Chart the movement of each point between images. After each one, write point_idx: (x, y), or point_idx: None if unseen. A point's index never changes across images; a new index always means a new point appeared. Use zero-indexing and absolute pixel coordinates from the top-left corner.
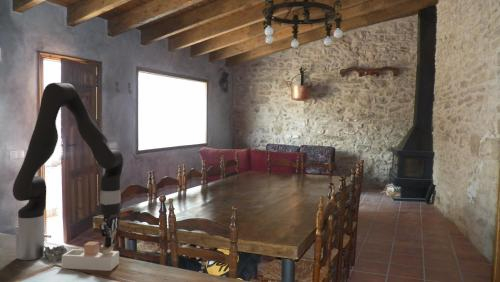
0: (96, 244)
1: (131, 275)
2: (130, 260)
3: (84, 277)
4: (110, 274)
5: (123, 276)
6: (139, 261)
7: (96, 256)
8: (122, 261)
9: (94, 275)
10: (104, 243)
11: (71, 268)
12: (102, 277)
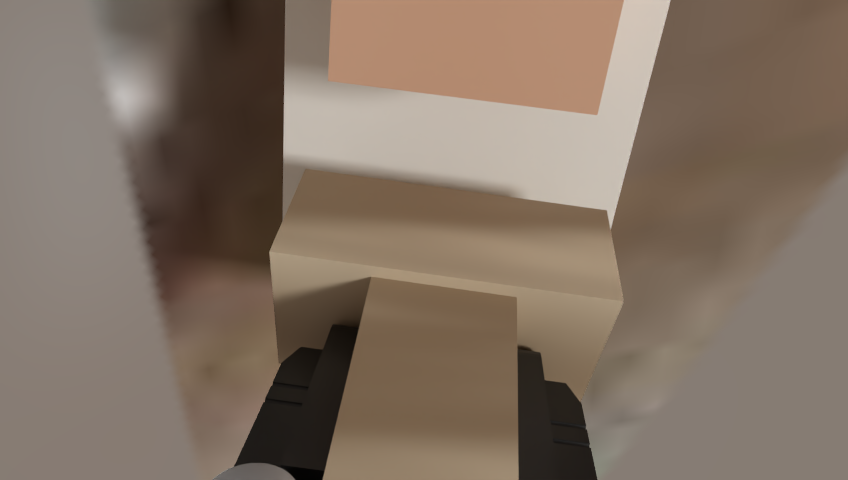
0: (456, 92)
1: (236, 447)
2: (647, 370)
3: (88, 4)
4: (227, 269)
5: (202, 392)
6: (604, 454)
7: (314, 105)
8: (623, 296)
9: (169, 107)
10: (361, 321)
11: None
12: (137, 213)
